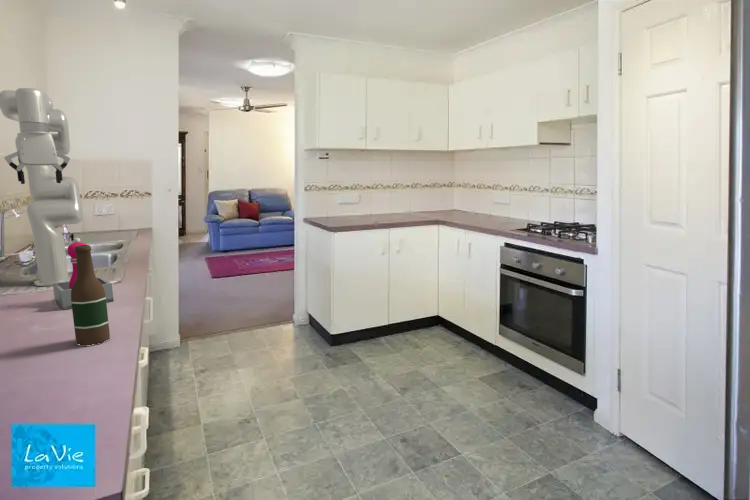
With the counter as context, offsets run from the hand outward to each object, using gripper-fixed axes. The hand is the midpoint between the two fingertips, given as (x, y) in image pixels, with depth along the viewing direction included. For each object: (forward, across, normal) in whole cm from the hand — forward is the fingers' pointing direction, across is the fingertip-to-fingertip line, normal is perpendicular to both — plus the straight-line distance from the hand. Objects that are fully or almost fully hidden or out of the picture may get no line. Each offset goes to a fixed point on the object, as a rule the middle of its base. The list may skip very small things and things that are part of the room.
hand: (41, 183), depth 154 cm
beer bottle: (+38, +1, +57) cm, 69 cm away
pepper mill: (+38, -6, +12) cm, 40 cm away
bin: (+38, -6, +12) cm, 41 cm away
